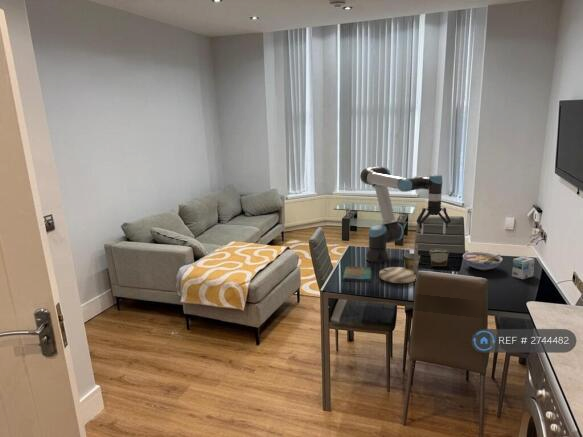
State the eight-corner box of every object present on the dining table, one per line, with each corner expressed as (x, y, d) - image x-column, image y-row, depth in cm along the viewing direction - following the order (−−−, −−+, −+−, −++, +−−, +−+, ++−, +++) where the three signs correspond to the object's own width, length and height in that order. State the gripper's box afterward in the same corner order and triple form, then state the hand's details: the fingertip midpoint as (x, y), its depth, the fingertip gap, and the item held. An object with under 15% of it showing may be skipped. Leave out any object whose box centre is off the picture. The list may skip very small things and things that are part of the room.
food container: (446, 262, 264) (446, 248, 262) (448, 265, 258) (449, 250, 256) (427, 262, 265) (427, 248, 263) (429, 265, 259) (429, 251, 257)
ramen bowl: (471, 260, 267) (471, 248, 265) (508, 267, 251) (509, 254, 249) (454, 269, 250) (455, 257, 248) (493, 278, 234) (494, 264, 232)
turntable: (372, 278, 237) (372, 247, 233) (389, 267, 253) (390, 239, 249) (407, 286, 223) (408, 253, 219) (423, 274, 239) (424, 244, 235)
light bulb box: (522, 279, 229) (523, 261, 227) (511, 276, 235) (512, 258, 233) (533, 276, 234) (535, 258, 232) (522, 272, 240) (524, 255, 238)
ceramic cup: (419, 274, 245) (419, 258, 243) (402, 273, 248) (402, 257, 246) (420, 267, 257) (420, 252, 254) (404, 266, 260) (404, 251, 258)
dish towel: (342, 281, 239) (342, 277, 239) (345, 268, 262) (345, 265, 261) (371, 282, 236) (371, 278, 235) (371, 269, 258) (371, 265, 258)
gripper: (415, 201, 241) (413, 235, 246) (457, 200, 239) (455, 235, 244) (412, 199, 249) (411, 232, 253) (453, 198, 246) (451, 231, 251)
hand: (432, 233), depth 249 cm, fingers open, 13 cm apart
